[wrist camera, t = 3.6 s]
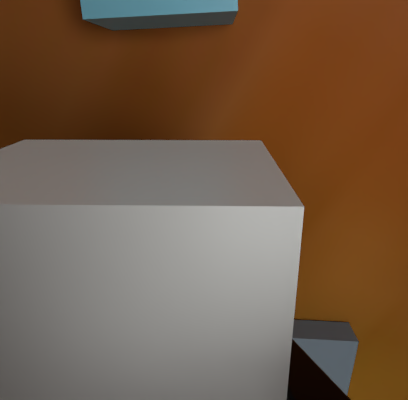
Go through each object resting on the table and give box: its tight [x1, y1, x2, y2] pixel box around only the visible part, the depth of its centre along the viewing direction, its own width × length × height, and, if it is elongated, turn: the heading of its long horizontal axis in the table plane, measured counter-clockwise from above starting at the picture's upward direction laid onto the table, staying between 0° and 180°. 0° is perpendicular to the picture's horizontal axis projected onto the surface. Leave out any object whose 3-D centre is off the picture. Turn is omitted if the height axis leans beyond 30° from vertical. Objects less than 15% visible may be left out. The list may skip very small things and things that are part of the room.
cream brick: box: [0, 140, 304, 400], centre depth 7 cm, size 5×8×4 cm, turn 0°
